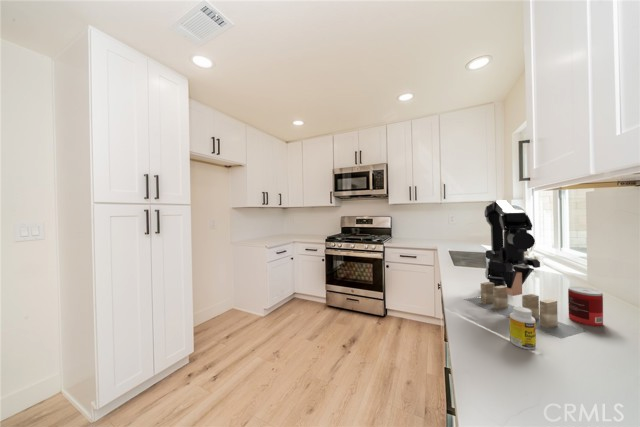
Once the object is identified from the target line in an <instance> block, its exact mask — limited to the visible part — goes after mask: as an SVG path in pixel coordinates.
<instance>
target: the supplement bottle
mask: <svg viewBox="0 0 640 427" xmlns="http://www.w3.org/2000/svg"><path fill="white" fill-rule="evenodd" d="M536 332H537V331H536V321H535V319H534V318H533V317H532V311H531V310H530V309H527V308H524V307H522V306H515V307H513V313H511V314H510V318H509V340H510V342H511V343H512V344H513V345H514V346H516V347H518V348H519V349H520V348H521V349H524V350H532V349H535V348H536V346H537V343H536V342H537V341H536V340H537V339H536V338H537V337H536V334H537V333H536Z"/></svg>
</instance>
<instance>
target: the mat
mask: <svg viewBox="0 0 640 427" xmlns="http://www.w3.org/2000/svg"><path fill="white" fill-rule="evenodd" d="M477 297H478V296H475V297H468V298H464V299H463V301H467V302H469V303H472V304H475V305H476V306H479V307H481V308H484V309H486V310H489V311H492V312H494V313H496V314H499V315H502V316H504V317H506V318H509V319H510V314H511V313H513V307H516V306H515V305H512V304H509V303H508V308H503V309H496V308H494V307H493V303H491V304H483V303H481V298H477ZM535 321H536V329H537V330H539V331H542V332H544V333H546V334H549V335H552V336H554V337H556V338H559V339H564V338H567V337H570V336H571V337H572V336H573V335H574V336H575V335H578V334H581V333H584V332H586V330H584V329H580V328H578V327H574V326H572V325H569V324H566V323H563V322H561V321H558V326H554V327H550V328H546V327H543V326H541V325H540V314H539V319H536V320H535Z"/></svg>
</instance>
